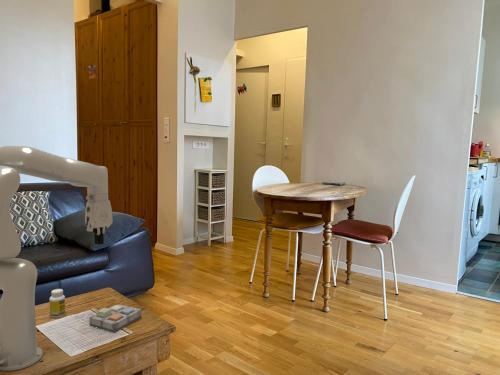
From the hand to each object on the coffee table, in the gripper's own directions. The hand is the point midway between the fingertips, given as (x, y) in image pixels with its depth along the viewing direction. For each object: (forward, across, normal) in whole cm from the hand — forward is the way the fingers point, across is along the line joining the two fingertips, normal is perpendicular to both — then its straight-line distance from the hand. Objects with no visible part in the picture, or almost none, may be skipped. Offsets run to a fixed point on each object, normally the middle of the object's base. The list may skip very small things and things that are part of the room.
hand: (99, 243), depth 153 cm
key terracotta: (+26, -8, -16) cm, 31 cm away
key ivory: (+26, -2, -10) cm, 28 cm away
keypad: (+27, -5, -13) cm, 30 cm away
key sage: (+25, -8, -10) cm, 28 cm away
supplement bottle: (+27, -11, +11) cm, 31 cm away
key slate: (+26, -2, -16) cm, 30 cm away
